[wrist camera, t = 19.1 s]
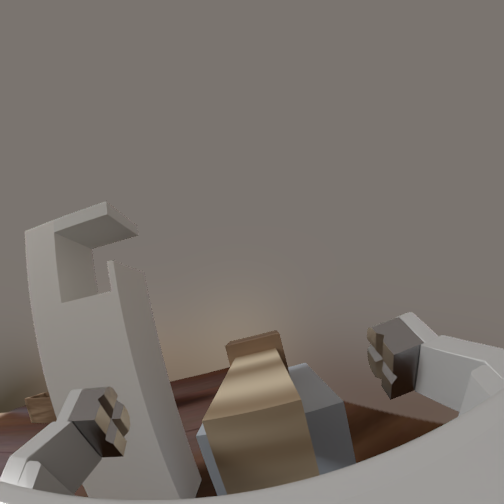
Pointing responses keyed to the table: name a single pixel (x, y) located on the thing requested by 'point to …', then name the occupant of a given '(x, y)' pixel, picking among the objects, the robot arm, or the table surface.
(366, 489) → the robot arm
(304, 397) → the block
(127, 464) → the stand
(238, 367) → the mallet
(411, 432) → the table surface
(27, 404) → the parts tray
